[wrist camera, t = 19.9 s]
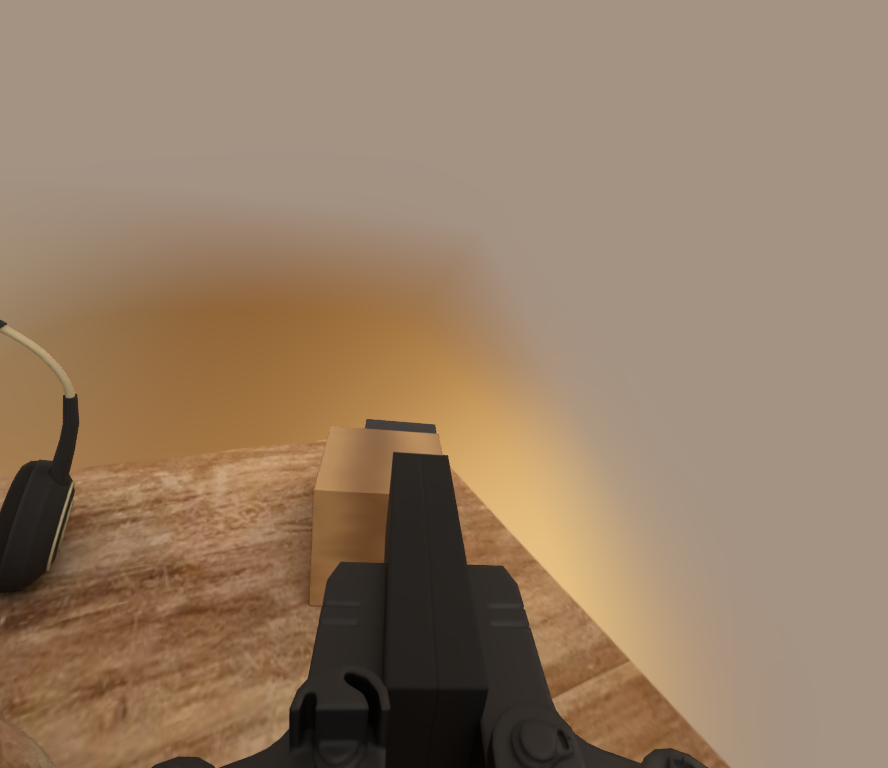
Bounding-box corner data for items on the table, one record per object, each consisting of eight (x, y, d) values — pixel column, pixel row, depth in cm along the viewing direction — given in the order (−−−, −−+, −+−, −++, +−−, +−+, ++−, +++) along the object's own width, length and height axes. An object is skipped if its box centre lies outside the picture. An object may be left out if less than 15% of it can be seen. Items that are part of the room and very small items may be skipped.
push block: (424, 529, 43) (438, 433, 40) (432, 608, 35) (450, 496, 32) (325, 524, 42) (330, 425, 39) (309, 605, 34) (313, 489, 30)
